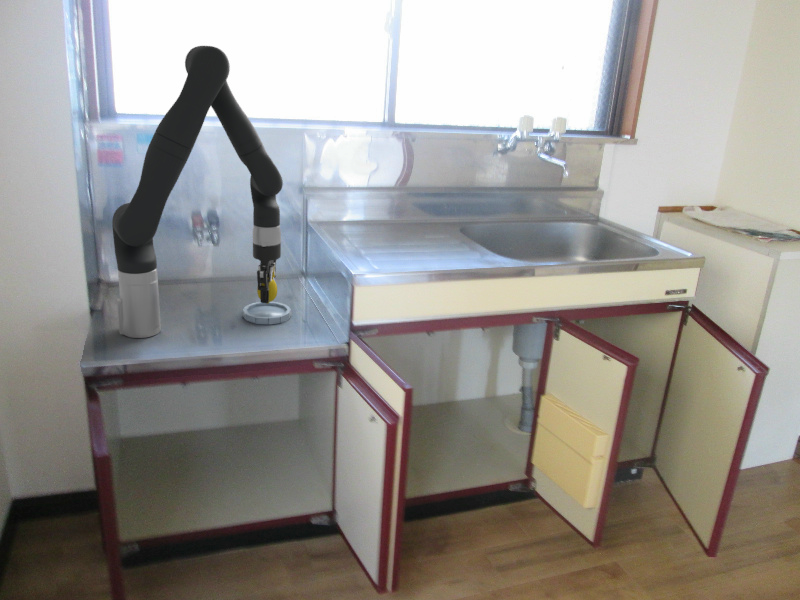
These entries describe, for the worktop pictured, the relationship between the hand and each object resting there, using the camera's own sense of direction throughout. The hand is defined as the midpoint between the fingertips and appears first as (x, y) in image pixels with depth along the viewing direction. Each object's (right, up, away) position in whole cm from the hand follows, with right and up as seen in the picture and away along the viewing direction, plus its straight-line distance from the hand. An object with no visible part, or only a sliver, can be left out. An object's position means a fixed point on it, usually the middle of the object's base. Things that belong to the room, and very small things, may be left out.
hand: (267, 298), depth 187 cm
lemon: (0, -2, +1) cm, 2 cm away
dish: (0, -5, +2) cm, 5 cm away
